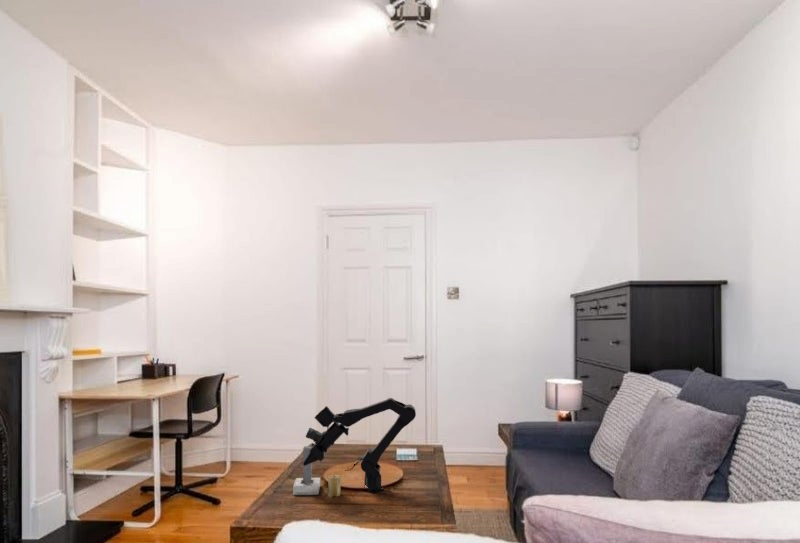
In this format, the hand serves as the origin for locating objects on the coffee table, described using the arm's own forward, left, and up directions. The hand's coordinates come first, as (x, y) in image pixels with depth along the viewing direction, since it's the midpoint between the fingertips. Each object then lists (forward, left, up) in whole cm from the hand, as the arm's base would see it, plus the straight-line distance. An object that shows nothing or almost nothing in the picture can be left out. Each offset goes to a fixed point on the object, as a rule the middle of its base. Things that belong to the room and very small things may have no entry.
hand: (304, 463), depth 213 cm
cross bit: (-13, -5, -11) cm, 18 cm away
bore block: (-1, -1, -11) cm, 11 cm away
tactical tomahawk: (+10, -40, -11) cm, 42 cm away
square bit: (-1, -1, -7) cm, 7 cm away
